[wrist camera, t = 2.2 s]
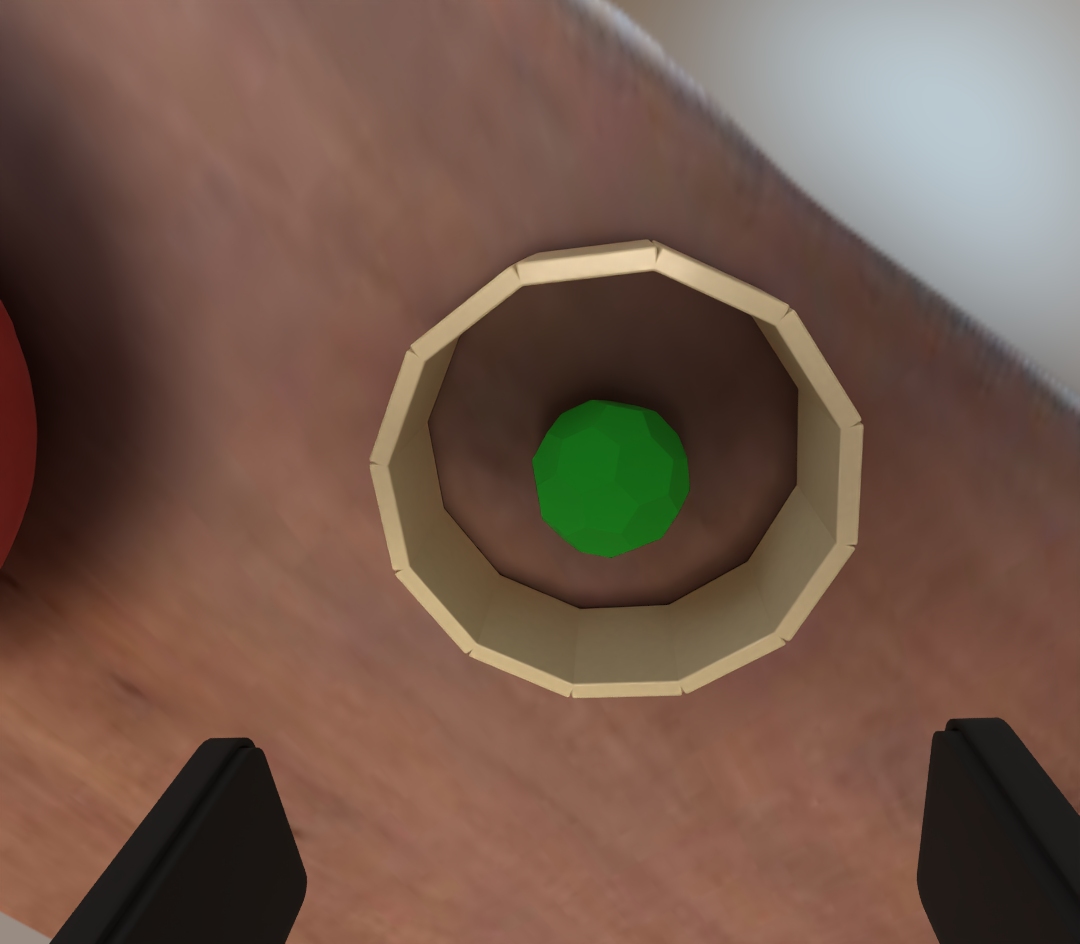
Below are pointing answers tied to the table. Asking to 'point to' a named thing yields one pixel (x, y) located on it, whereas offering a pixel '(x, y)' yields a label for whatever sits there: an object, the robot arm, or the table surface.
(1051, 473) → the table surface
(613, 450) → the polyhedron
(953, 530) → the table surface
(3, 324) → the mixing bowl
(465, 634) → the hollow cylinder
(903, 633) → the table surface
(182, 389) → the table surface
